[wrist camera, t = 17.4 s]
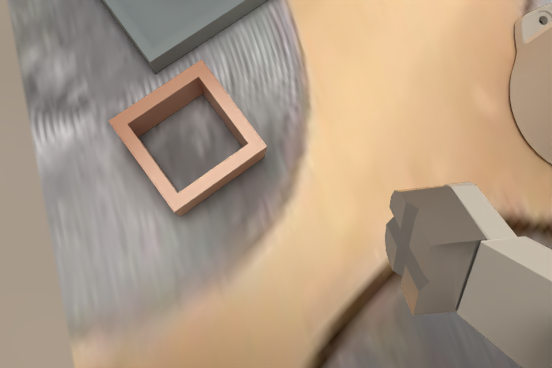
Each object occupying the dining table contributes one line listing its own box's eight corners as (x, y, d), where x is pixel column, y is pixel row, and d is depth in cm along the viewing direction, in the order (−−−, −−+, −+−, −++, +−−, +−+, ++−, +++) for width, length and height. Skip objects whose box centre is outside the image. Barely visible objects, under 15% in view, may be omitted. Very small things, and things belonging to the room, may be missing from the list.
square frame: (205, 78, 40) (201, 59, 36) (264, 156, 40) (266, 146, 36) (121, 134, 39) (108, 120, 35) (180, 216, 38) (174, 212, 35)
